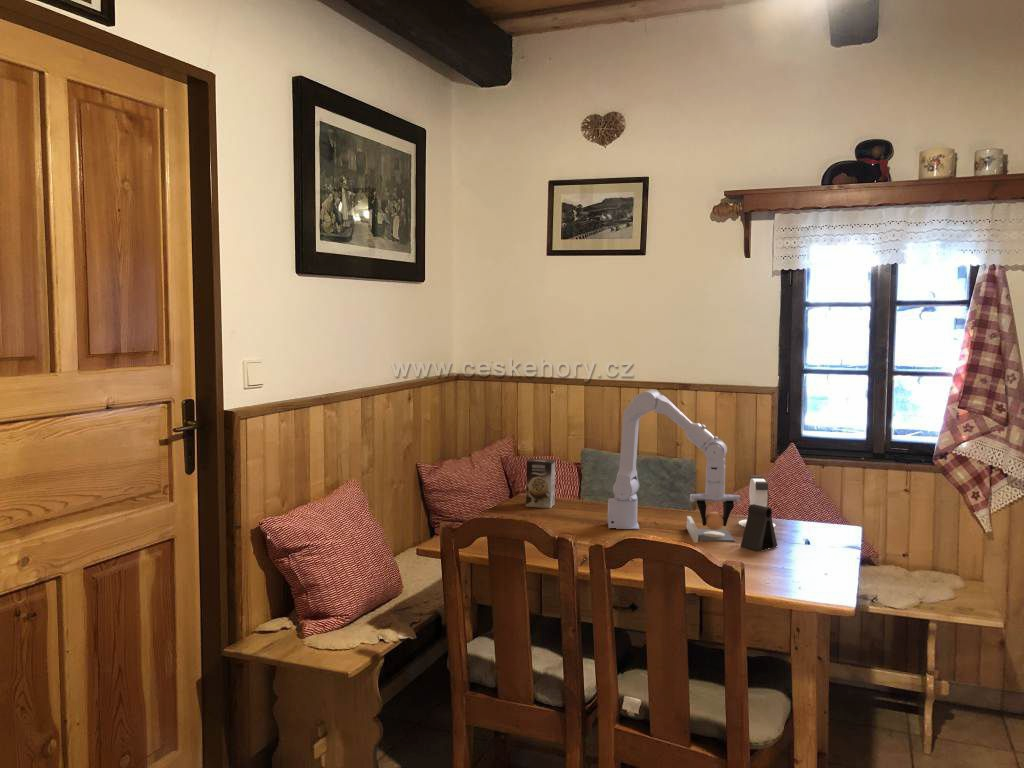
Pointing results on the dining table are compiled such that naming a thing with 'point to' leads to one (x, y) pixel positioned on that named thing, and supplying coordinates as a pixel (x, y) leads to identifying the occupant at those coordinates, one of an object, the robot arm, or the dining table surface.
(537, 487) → the coffee box
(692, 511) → the dining table surface
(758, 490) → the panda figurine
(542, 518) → the dining table surface
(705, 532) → the mat
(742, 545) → the phone stand
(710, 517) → the ball
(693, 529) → the fence
